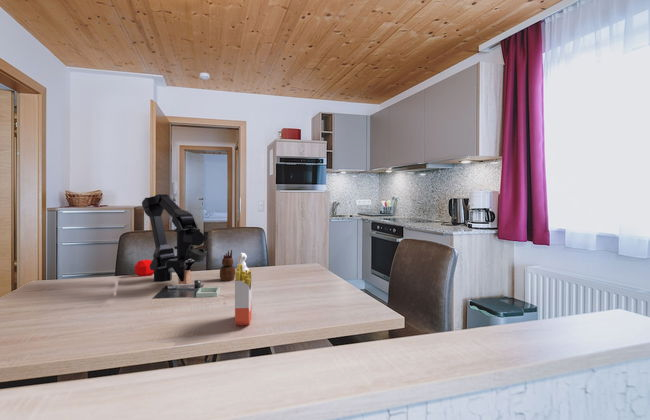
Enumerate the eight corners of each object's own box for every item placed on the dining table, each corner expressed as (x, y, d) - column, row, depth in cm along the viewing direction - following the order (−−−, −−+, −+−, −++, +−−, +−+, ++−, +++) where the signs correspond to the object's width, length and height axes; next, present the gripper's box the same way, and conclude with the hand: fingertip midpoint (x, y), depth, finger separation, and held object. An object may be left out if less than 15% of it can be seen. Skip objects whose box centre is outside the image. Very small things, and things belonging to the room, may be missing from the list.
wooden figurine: (237, 280, 159) (237, 248, 158) (232, 284, 153) (232, 250, 152) (223, 280, 160) (222, 248, 159) (218, 283, 154) (217, 250, 153)
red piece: (158, 275, 167) (157, 260, 166) (142, 279, 160) (141, 263, 159) (148, 273, 171) (148, 258, 170) (132, 276, 164) (132, 260, 164)
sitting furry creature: (231, 275, 169) (230, 251, 168) (248, 273, 172) (248, 250, 171) (231, 279, 160) (231, 254, 159) (250, 278, 163) (250, 253, 162)
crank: (165, 289, 140) (165, 280, 140) (170, 286, 144) (170, 278, 144) (198, 290, 139) (198, 281, 139) (202, 288, 142) (202, 279, 142)
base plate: (151, 301, 129) (151, 298, 129) (165, 288, 146) (165, 285, 146) (195, 299, 131) (195, 296, 131) (204, 286, 148) (204, 284, 148)
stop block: (178, 283, 143) (178, 272, 142) (182, 281, 146) (182, 270, 146) (186, 284, 142) (186, 272, 142) (190, 281, 146) (190, 270, 146)
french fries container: (253, 315, 115) (252, 262, 114) (250, 328, 105) (250, 270, 104) (239, 315, 115) (238, 262, 114) (234, 329, 104) (234, 270, 103)
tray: (196, 299, 131) (196, 293, 131) (200, 293, 138) (200, 287, 138) (217, 298, 132) (216, 292, 132) (219, 293, 140) (219, 287, 140)
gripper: (191, 247, 133) (191, 287, 134) (212, 240, 152) (212, 275, 153) (164, 246, 134) (165, 285, 135) (188, 239, 153) (188, 274, 154)
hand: (184, 280), depth 144 cm, fingers closed on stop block, 3 cm apart
